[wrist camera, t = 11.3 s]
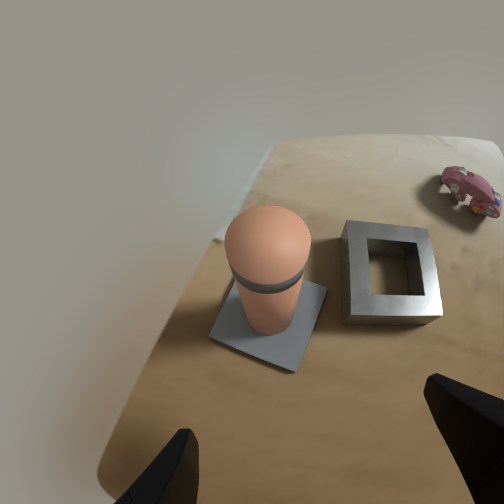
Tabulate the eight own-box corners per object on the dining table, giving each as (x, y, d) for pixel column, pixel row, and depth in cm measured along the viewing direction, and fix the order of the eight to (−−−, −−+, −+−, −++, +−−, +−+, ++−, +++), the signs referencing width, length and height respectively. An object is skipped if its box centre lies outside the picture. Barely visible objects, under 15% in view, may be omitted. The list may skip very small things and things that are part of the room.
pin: (291, 337, 22) (310, 282, 12) (243, 333, 22) (217, 275, 12) (294, 292, 24) (311, 207, 13) (249, 289, 24) (231, 203, 14)
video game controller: (432, 194, 31) (447, 176, 25) (441, 169, 31) (456, 148, 24) (483, 230, 28) (506, 220, 21) (491, 204, 27) (513, 190, 21)
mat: (326, 290, 24) (327, 287, 24) (295, 372, 21) (296, 372, 21) (246, 261, 26) (246, 258, 26) (209, 337, 23) (208, 335, 23)
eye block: (427, 324, 22) (442, 315, 19) (342, 324, 23) (350, 314, 20) (416, 243, 26) (427, 228, 23) (340, 237, 27) (346, 220, 24)
